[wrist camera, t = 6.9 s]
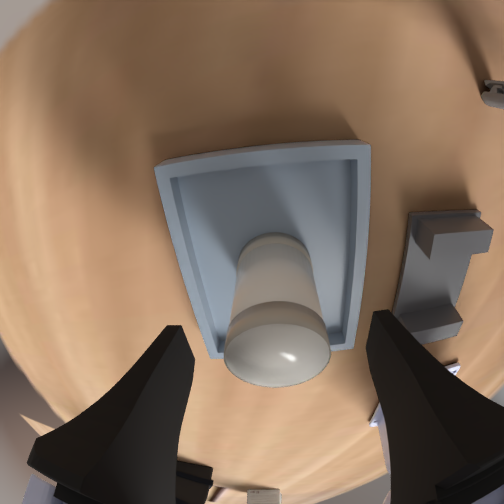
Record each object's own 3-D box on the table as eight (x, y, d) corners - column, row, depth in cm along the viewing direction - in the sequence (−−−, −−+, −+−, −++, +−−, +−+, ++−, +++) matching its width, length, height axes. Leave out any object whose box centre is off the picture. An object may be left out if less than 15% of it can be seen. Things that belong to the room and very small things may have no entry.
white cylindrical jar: (311, 290, 15) (327, 382, 10) (244, 296, 15) (234, 389, 10) (309, 228, 13) (333, 316, 8) (232, 236, 14) (212, 326, 8)
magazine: (228, 481, 36) (181, 540, 24) (165, 442, 40) (114, 494, 28) (232, 478, 34) (182, 541, 22) (165, 436, 38) (110, 491, 26)
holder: (447, 315, 17) (459, 336, 15) (387, 327, 17) (397, 351, 15) (477, 209, 12) (498, 225, 11) (409, 212, 13) (428, 231, 11)
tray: (348, 331, 17) (353, 348, 16) (213, 341, 18) (210, 358, 17) (359, 139, 11) (370, 144, 10) (165, 159, 12) (153, 167, 11)
